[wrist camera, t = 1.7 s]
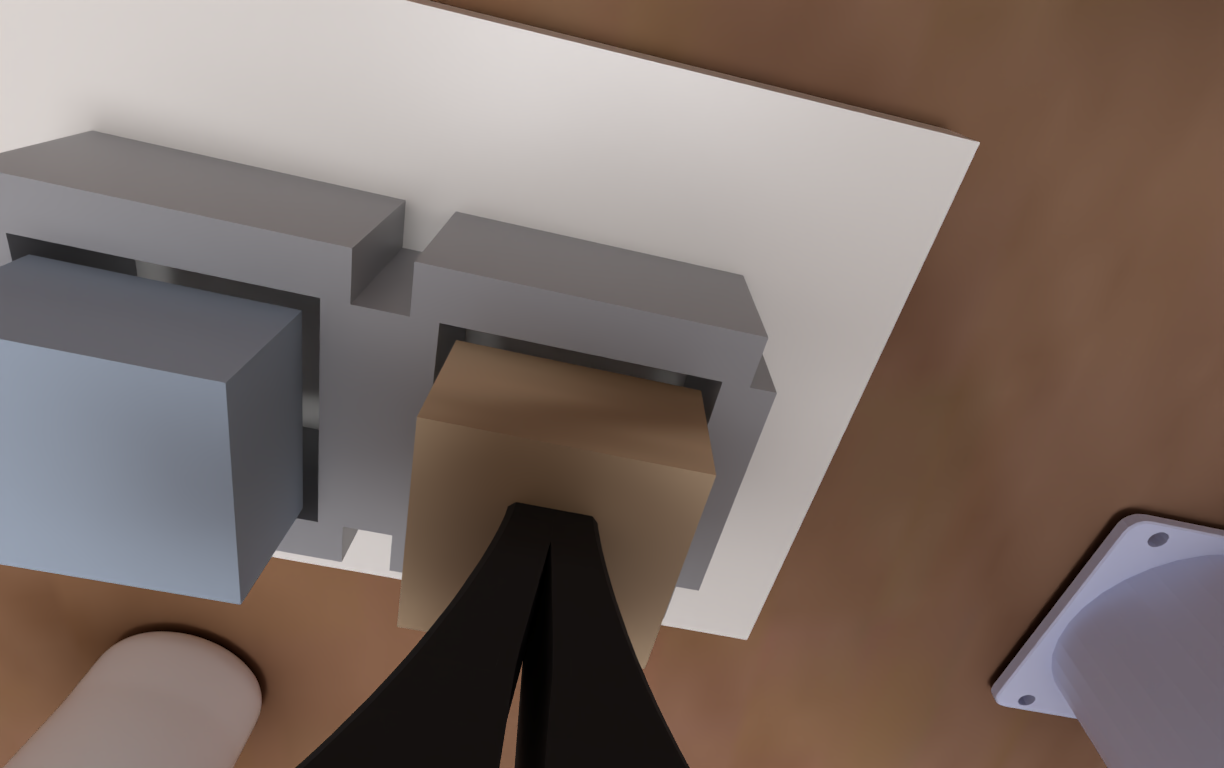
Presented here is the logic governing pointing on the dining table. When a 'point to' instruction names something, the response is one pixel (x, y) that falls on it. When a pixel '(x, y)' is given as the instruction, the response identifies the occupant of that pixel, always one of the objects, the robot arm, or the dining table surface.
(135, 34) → the key panel
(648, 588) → the key oak
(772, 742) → the dining table surface
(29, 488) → the key slate
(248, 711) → the drinking glass
